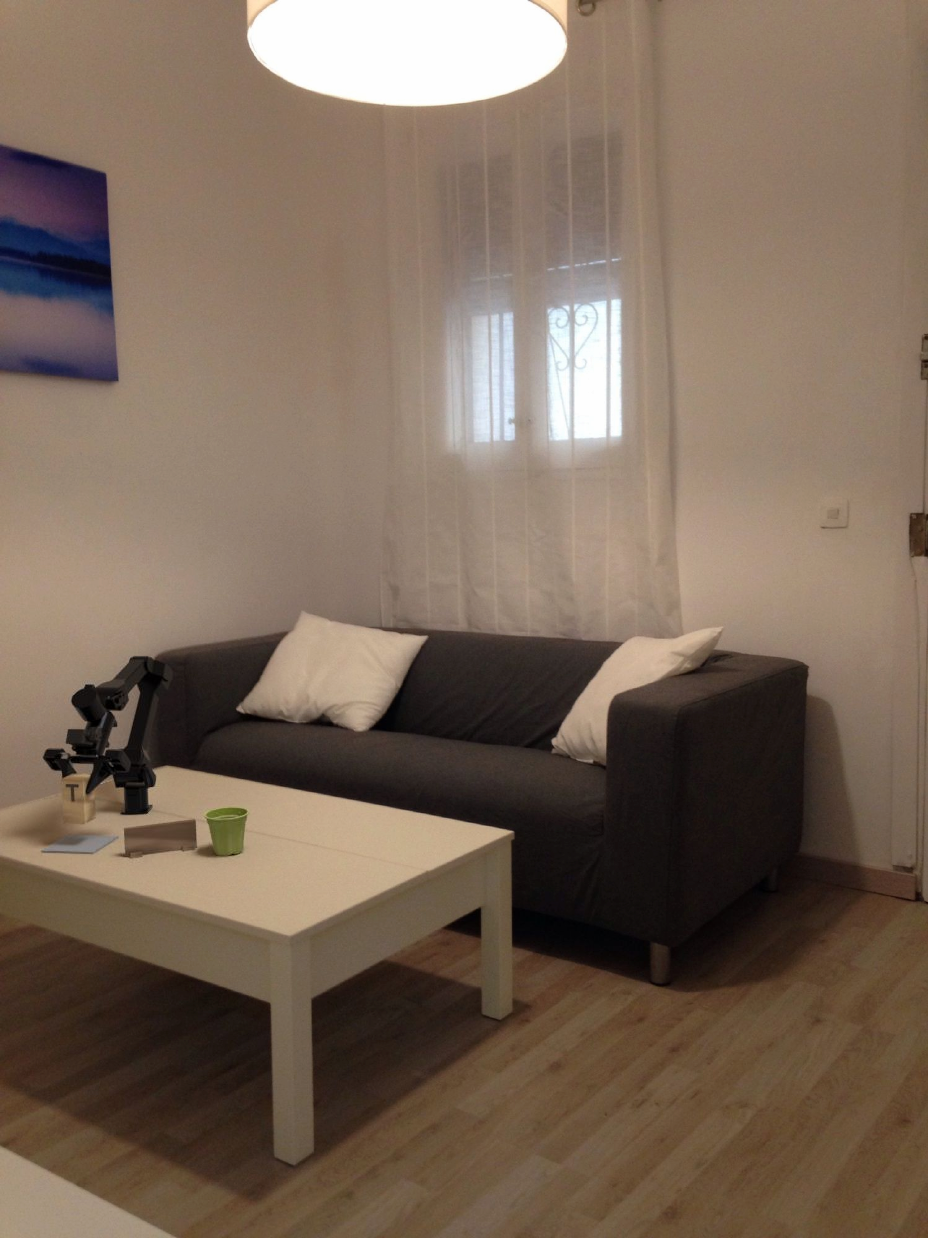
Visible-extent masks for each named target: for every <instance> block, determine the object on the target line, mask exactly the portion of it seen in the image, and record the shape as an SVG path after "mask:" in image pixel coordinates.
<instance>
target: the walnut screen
mask: <svg viewBox="0 0 928 1238" xmlns="http://www.w3.org/2000/svg"><path fill="white" fill-rule="evenodd" d="M197 837H198V836H197V820H196V819H194V818H192V819H184V820H183V819H182V820H177V821H168V822H160V823H159V822H158V823H152V824H145V825H143V824H142V825H137V826H127V827H123V838H124V839H123V841H124V856H125V858H130V859H134V858H141V857H143V855H152V854H158V853H166V852H173V851H180V850H182V852H186V851H194V850H195V848H198V842H197V841H198V839H197Z"/></svg>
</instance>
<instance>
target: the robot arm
mask: <svg viewBox="0 0 928 1238" xmlns="http://www.w3.org/2000/svg"><path fill="white" fill-rule="evenodd" d="M173 676H174V674H173V669H172V668H171V667H170V666H169V665H168V664H167V663H164V662H162V661H159V660H157V659H154V658H153V657H151V656H149V655H133V656H131V657H130V658H129V660H128V662H127V663H126V664H125V666H124V667H123V668H122V669H121V670H120V671H119V672H118V673H117V674H116V675H115V676H114V677H113V678H112V679H111V680H109V681H105V682H102V683H100V684H98V685H97V686H95V684H87V683H86V684H84V687H83V688H81V689H79V690H77V691H75V693H74V694H73V695H72V697H71V700H70V701H71V705H72V706H73V708H74V709H75V711H76V713H77V714H78V715H79V717H80V718H81V720H83V721H84V722H86V724H85V727H84V728H68V729H67V732H66V736H65V737H66V739H65V744H66V745H70V746H71V750H72V752H75V754H72V753H71V754H70V753H68V752H66V751H65V749H64V748H63V747H62V748H60V747H59V748H57V747H54V748H53V747H48V748H46V749H45V750H44V752H43V754H42V759H43V760H44V761H45V763H46V764H47V765H48V768H50V770H51V771H54V772H61V779H63V778H65V777H67V776H69V775H71V774H78V772H77V771H76V770H75V767H74V766H75V764H78V765H93V767H92V771H91V773H90V774H91V776H90V779H89V781H88V784H87V787H86V791H85V792H86V794H90V793H91V792H92V791H93V790H95V789H96V788H97V787H98V786H99V785H100V784H101V783H102V782H104V781H105V780H106V779H107V778H108V779H109V777H110V776H112V779H113V783H114V787H115V789H119V788H120V789H122V788H123V799H124V800H123V801H124V807H123V809H122V810H121V811H120V815H133V814H134V815H137V814H139V815H140V814H148V813H149V812H150V810H151V809H152V808H153V804H149V789H150V788H154V787H155V786H156V785H157V784H156V782H157V775H156V773H155V771H153V768H152V767H151V758H150V757H149V754H148V752H147V750H148V746H149V743H150V742H149V741H150V738H151V734H152V730H153V724H154V722H155V721H154V720H155V717H156V713H157V708H158V705H159V700H160V698H161V697H162V696H164V695H165V693H166V692H168V690H169V688H170V684H171V682H172V680H173V678H174V677H173ZM135 686H137V689H138V692H139V695H138V699H137V705H136V708H135V712H134V714H133V715H134V716H133V720H132V723H131V727H130V732H129V736H128V740H127V744H126V746H124V748H118V749H115V748H112V749H111V748H110V745H111V743H110V741H109V740H110V736H111V733H112V730H113V728H117V727H118V721H117V720H116V716H115V715H114V713H113V712H121V711H123V710H124V709H125V708H126V706H127V704H128V703H129V701H130V699H129V698H130V697H129V694H130V692H131V691H132V690H133V689H134V688H135ZM109 748H110V749H109Z"/></svg>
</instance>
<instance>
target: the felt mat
mask: <svg viewBox="0 0 928 1238" xmlns="http://www.w3.org/2000/svg"><path fill="white" fill-rule="evenodd" d="M119 837H120V836H119V835H99V834H97V835H95V834H94V835H93V834H68V835H66V836H64V837H62V838H60V839H58V840H57V841H55V842H54V843H52V844H50V845H48V846H47V847H45V848H43V849H41V853H52V854H53V853H55V854H57V853H58V854H59V853H60V854H79V855H81V854H83V855H85V854H86V855H94V854H95V853H97V852H98V851H100V850H102V849H104V848H105V847H107V846H108V845H110V844H111V843H113V842H114V841H116V840H118V839H119Z"/></svg>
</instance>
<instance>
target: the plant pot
mask: <svg viewBox="0 0 928 1238" xmlns="http://www.w3.org/2000/svg"><path fill="white" fill-rule="evenodd" d="M249 810H250V809H248V808H245V807H241V806H225V807H218V808H214V809H210V810H208V811H206V812H205V813H204V815H203V817H204V818H205V819H206V824H207V825H208V829H209V833H210V837H211V843H212V849H213V853H215V855H217V856H225V857H227V856H228V857H229V856H231V855H232V854H235V855H238V854H240V853H241V852H243V851H244V842H245V841H244V839H245V832H246V831H245V830H246V822H247V819H248V816H249V814H250V811H249Z"/></svg>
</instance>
